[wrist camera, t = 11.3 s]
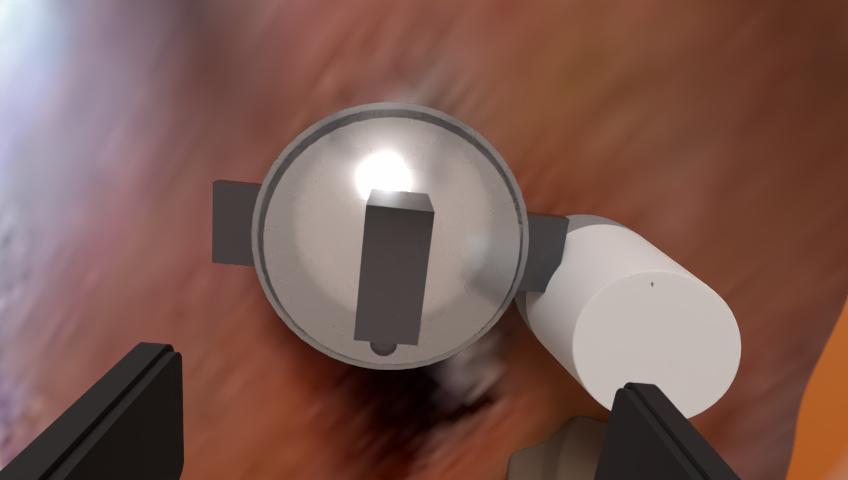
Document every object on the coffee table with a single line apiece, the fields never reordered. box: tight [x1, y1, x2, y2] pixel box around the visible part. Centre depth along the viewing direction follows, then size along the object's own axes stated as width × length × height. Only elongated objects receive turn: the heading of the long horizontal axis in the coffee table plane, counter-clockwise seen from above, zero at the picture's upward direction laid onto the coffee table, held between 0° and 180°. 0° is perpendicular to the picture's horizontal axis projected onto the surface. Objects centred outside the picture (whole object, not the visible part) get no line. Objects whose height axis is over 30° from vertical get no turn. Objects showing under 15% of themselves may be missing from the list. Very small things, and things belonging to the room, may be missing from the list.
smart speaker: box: [514, 215, 741, 419], centre depth 30 cm, size 10×9×14 cm
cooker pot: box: [212, 102, 570, 370], centre depth 30 cm, size 19×15×9 cm
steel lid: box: [263, 117, 520, 364], centre depth 23 cm, size 13×13×6 cm
